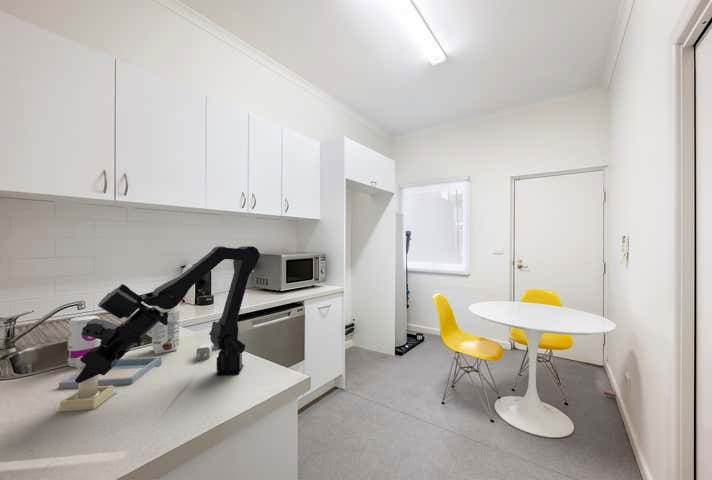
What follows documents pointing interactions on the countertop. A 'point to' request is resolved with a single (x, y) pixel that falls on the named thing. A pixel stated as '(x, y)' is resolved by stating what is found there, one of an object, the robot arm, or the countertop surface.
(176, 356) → the countertop surface
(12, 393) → the countertop surface
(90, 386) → the pale spool-shaped piece
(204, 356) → the usb wall charger
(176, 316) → the juice carton
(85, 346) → the supplement can
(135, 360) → the tray
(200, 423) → the countertop surface
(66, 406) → the yellow rectangular frame
